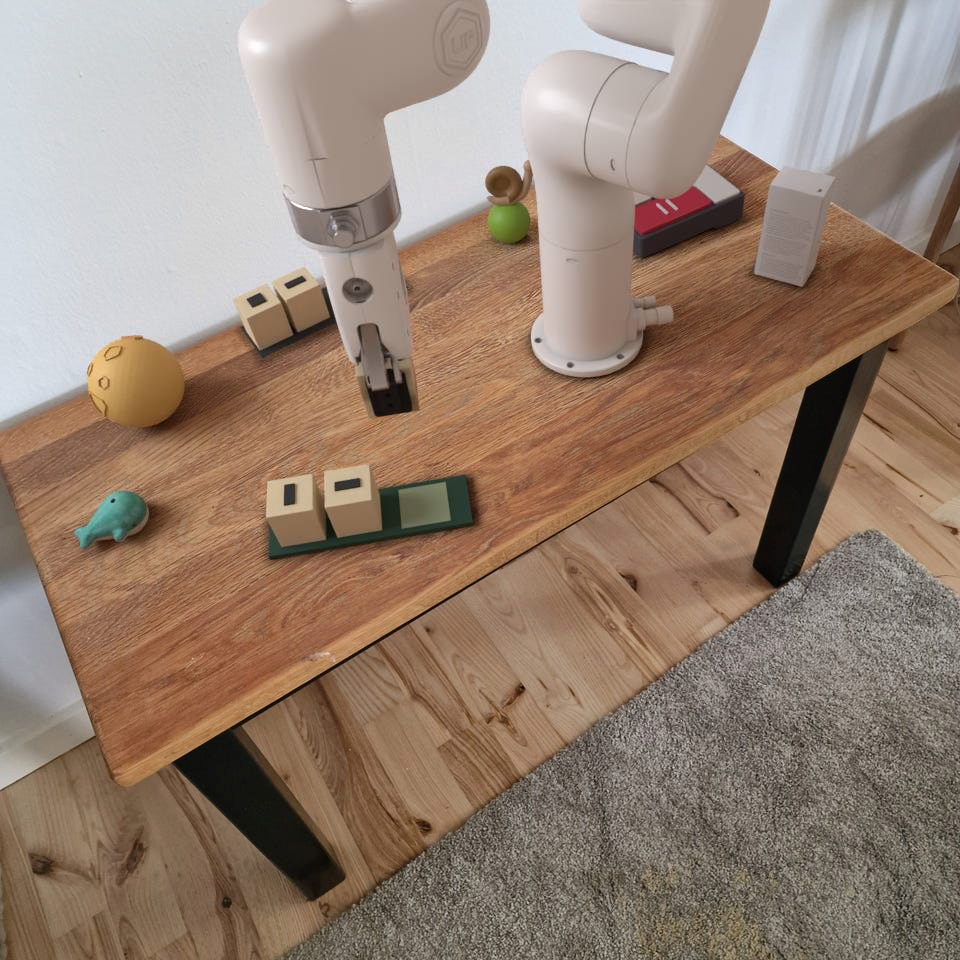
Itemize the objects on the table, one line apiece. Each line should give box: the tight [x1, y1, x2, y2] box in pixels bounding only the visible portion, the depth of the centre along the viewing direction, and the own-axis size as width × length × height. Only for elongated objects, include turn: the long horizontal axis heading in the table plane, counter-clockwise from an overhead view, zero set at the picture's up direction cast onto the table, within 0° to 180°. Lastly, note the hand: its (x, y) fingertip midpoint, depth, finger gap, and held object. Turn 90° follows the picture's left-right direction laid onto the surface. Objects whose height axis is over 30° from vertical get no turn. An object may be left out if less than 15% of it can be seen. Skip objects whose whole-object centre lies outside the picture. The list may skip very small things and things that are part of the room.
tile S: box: [354, 343, 421, 420], centre depth 69 cm, size 4×4×5 cm
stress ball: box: [86, 334, 186, 429], centre depth 90 cm, size 10×10×10 cm
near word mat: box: [265, 463, 474, 561], centre depth 79 cm, size 20×6×6 cm, turn 98°
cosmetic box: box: [753, 165, 837, 288], centre depth 93 cm, size 6×4×12 cm
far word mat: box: [232, 266, 409, 359], centre depth 100 cm, size 20×7×6 cm, turn 123°
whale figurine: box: [74, 490, 150, 551], centre depth 83 cm, size 6×7×4 cm
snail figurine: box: [484, 159, 534, 245], centre depth 103 cm, size 5×6×12 cm
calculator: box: [633, 163, 746, 259], centre depth 105 cm, size 11×4×15 cm
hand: (391, 388), depth 70 cm, fingers closed on tile S, 4 cm apart
